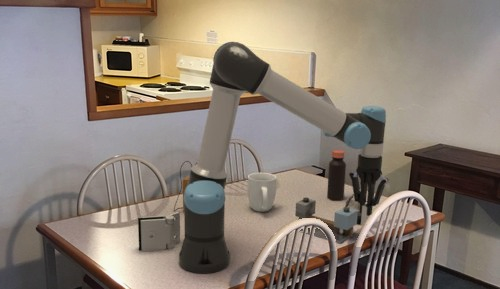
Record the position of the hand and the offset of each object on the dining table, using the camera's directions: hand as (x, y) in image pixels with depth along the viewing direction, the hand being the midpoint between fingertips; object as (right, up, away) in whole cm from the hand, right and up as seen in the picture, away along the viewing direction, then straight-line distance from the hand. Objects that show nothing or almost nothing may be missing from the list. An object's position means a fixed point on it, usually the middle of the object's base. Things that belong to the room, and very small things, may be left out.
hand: (364, 223), depth 165 cm
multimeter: (-59, +1, +26) cm, 65 cm away
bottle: (-3, +4, +42) cm, 42 cm away
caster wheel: (+2, -2, +20) cm, 20 cm away
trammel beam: (-12, -3, +10) cm, 16 cm away
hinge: (-66, -6, -6) cm, 67 cm away
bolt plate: (-15, -4, +7) cm, 16 cm away
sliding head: (-6, -3, +5) cm, 8 cm away
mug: (-34, +1, +27) cm, 43 cm away
